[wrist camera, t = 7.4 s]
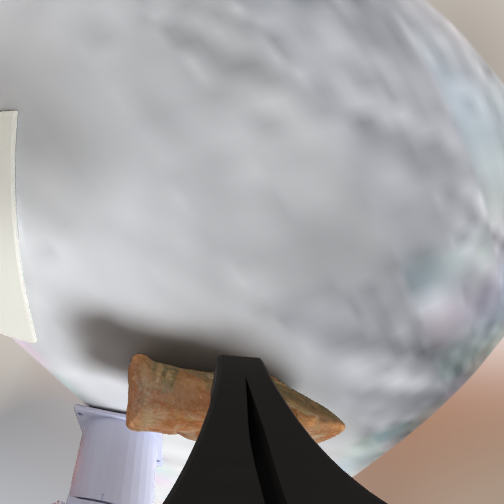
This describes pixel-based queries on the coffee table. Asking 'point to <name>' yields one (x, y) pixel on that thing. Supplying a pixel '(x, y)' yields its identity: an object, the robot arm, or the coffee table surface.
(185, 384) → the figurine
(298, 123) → the coffee table surface
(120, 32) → the coffee table surface
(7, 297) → the felt mat
